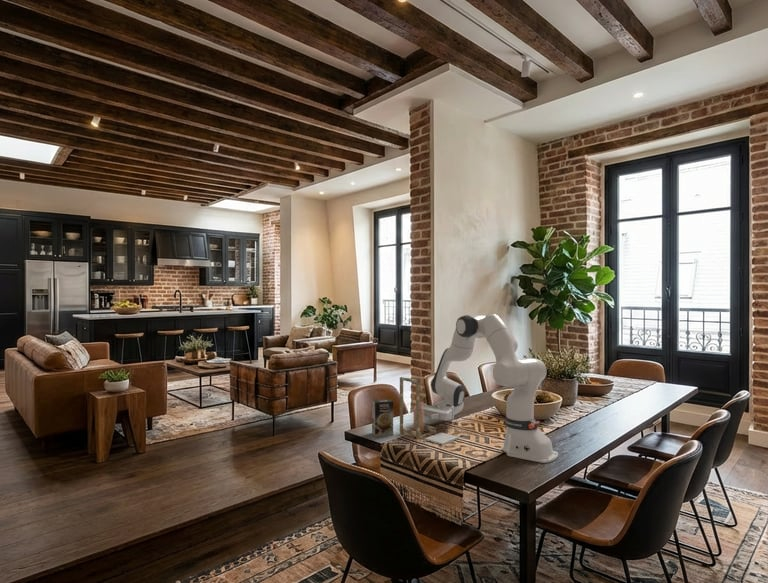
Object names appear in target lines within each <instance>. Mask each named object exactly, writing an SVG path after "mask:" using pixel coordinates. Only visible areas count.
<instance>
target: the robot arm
mask: <svg viewBox="0 0 768 583" xmlns="http://www.w3.org/2000/svg"><path fill="white" fill-rule="evenodd" d="M482 338H485V339H486V341H487V344H488V345H489V346H490V348H491V351H492V353H493V355H494V357H495V364H494V366H493V368H492V377H493V380H494V382H495V383H496V384H497V385H498V386H502V387H509V388H511V387H512V388H513V390H512V391H511V393H509V395H508V396H507V398H506V416H505V422H504V423H505V424H504V425H505V426H504V427H505V436H504V443H503V445H502V451H503V452H505V453H506V456H508V457H511V458H512V457H513V458H517V459H522V460H527V461H533V462H538V463H541V464H546V463H551V462H553V461H555V460H556V459H558V458H559V452H558V451H555V450H553V444H552V440H551V439H550V438H549V437H548V436H547V435H546V434H545V433H544V432H543V431H541V429H539V427H538V425H540V420H536V419H535V418H534V408H535V399H536V395H537V391H538V388H539V387H540V385H541V383H543V382H542V381H544V379H546V378H547V370H548V369H547V367H546V364H545V362H544V361H542V360H541V359H538V358H532V357H528V358H518V357H517V354H516V352H517V350H518V346H519V344H518V341H517V340H516V338H515V336H514V335H513V334H512V332H511V330H510V328H509V327H508V325H507V324H506V323H505V322H504V320H503V319H502V318H501V317H500V316H499V315H497V314H495V313H490V314H487V315H485V314H469V315H468V314H465V315H462V316H460V317H459V318H457V321H456V323H455V330H454V332H453V336H452V338H451V344H450V346H449V347H448V348H446V349H445V350H444V351H443V353H442V355H441V357H440V359H439V360H440V361H439V363H438V364H437V367H436V368H437V369H436V371H435V374H434V376H433V378H432V380H431V382H430V388H431V392H432V393H434V394H437V395H439V396H440V397H443V399H441V400H438V401H435V402H433V403H432V404H431V405H428V404H421V409H423V410H424V417H427V418H428V417H429V418H428V419H430V420H435V419H436V420H441V421H445V422H446V421H452V420H454V419H455V415H457V414H458V413H460V412H461V411H462V410H463V409H464V400H465V396H466V392H465V387H464V386H463V385H462V384H460V383H459V382H457V381H454V380H452V379H450V378H448V376H447V373H448V370H449V367H450V364H451V363H452V362H463V361H467V360H469V359H470V358H471V357H472V354H473V352H474V347H475V341H476V339H482ZM414 409H416V405H414V406H413V410H414Z"/></svg>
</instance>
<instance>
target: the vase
mask: <svg viewBox="0 0 768 583" xmlns="http://www.w3.org/2000/svg"><path fill="white" fill-rule="evenodd" d="M421 405H422V403H421V402H420V433H421V435H424V434H425V431H424V425H425V416H424V410H423V409H421ZM413 428H414V431H416V409H414V408H413Z"/></svg>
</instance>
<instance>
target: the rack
mask: <svg viewBox="0 0 768 583" xmlns="http://www.w3.org/2000/svg"><path fill="white" fill-rule="evenodd" d="M404 382H410V383H415V406H416V431H414V427H412V428H404ZM420 383H421V381H420V379H416V378H409V377H404V376H399V435H400V436H401V435H405V436H409V437H411V438H412V437H413V438H415V437H416V438H415V439H416V440H420V438H421V439H422V438H427V437H429V436H432V435H435V434H437V427H435V426H431V425H429V424H424V432H425V431H426V432H427V433H424V434H422V435H421V433H420V403H421V401H420V400H421V398H420V397H421V396H420V395H421V393H420V392H421V390H420V388H421V384H420Z"/></svg>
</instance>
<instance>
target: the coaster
mask: <svg viewBox="0 0 768 583" xmlns="http://www.w3.org/2000/svg"><path fill="white" fill-rule="evenodd" d="M458 439H459V437H458V436H455V435H452V434H450V433H445V432H438V433H434V434H432V435H429V436H426V437H424V441H426V440H427V442H430V441H431V443H433V442H434V444H437V443H438V444H437V445H440V444H441V445H440V446H444V444H445V445H447V444H449V443H451V442H454V441H457V440H458Z"/></svg>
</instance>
